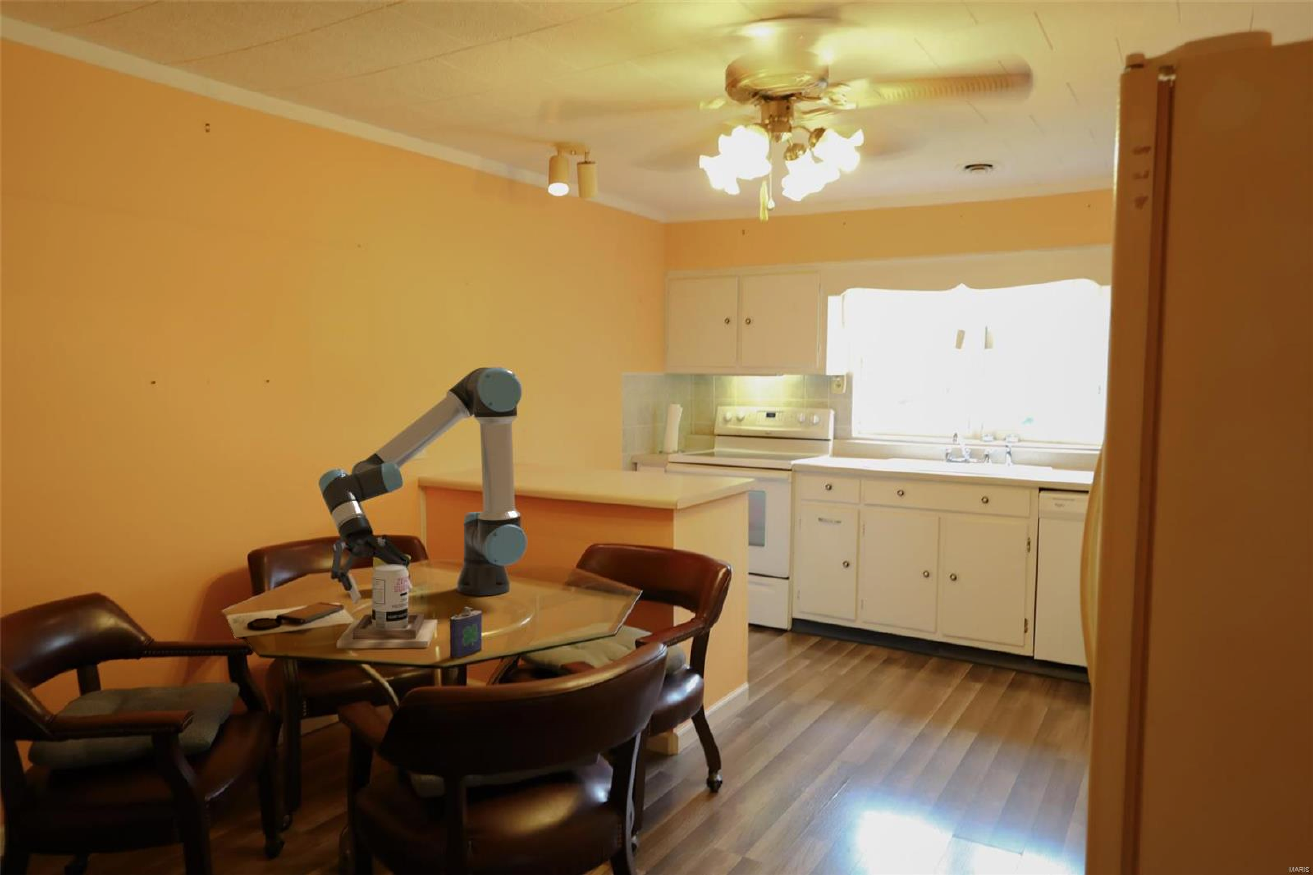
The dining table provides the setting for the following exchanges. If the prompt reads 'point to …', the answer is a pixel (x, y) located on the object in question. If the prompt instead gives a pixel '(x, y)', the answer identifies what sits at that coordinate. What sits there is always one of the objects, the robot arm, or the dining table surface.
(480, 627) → the flask
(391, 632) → the oak stand
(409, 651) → the dining table surface
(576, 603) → the dining table surface
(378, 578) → the supplement can
